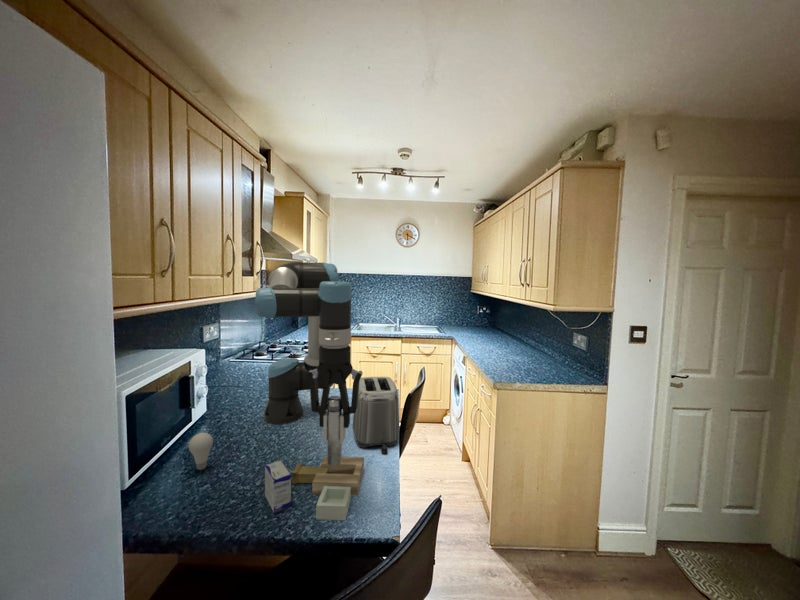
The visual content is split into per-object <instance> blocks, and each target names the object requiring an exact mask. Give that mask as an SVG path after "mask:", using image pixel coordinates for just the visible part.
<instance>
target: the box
mask: <svg viewBox="0 0 800 600" xmlns="http://www.w3.org/2000/svg"><path fill="white" fill-rule="evenodd" d="M264 497H265V499H266V501H267V503H268V505H269V506H270V508H271V510H272V512H273V514H276V513H279V512H282V511H283V510H285V509H288V508H289V507H291V506H292V473H291V472H290V471H289V469H288V467H287V466H286V464H285V463H284V462H283V460H278V461H274V462H272V463H268V464H266V465H264Z"/></svg>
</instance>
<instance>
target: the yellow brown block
mask: <svg viewBox="0 0 800 600" xmlns="http://www.w3.org/2000/svg"><path fill="white" fill-rule="evenodd" d="M316 473H324V474H329V467H321V466H310V465H309V466H307V465H306V466H305V465H303V463H302V462H297V464H296V466H295V467H294V469H293V471H292V473H291V485H292V484H293V485H298V484H312V482H313V480H314V478H315V475H316Z"/></svg>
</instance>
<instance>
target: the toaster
mask: <svg viewBox="0 0 800 600" xmlns="http://www.w3.org/2000/svg"><path fill="white" fill-rule="evenodd" d="M399 401H400V400H399V391H398V389H397V385H396V384H395V381H394V380H393V379H392V378H391V377H389V376H363V377H361V378H360V381H359V393H358V406H357V410H356V412H355V413H353V416H352V417H353V418H352V431H353V435H354V438H355V441H356V444H357V445H358V446H359V447H362V448H365V449H366V448H368V447H372V446H377V447H378V446H381V445H382V446H381V449H380V450H381V452H380V453H381V454H382V455H387V454H388V446H389V447H393V446H394V445H396V444H397V443H398V441H399V438H400V409H399Z"/></svg>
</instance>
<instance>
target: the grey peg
mask: <svg viewBox="0 0 800 600" xmlns="http://www.w3.org/2000/svg"><path fill="white" fill-rule="evenodd" d="M326 411H328V440H327V451H326V452H327V455H326V456H327V463H328V465H330V466H336V465H339V464H340V463H341V460H342V457H343V456H342V454H343V453H342V451H343V450H342V448H343V447H342V445H343V444H342V443H340V416H341V414H342V412H343V409H342V403H341V397H340V396H339V395H332V396H329V397H328V403H327V409H326Z"/></svg>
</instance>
